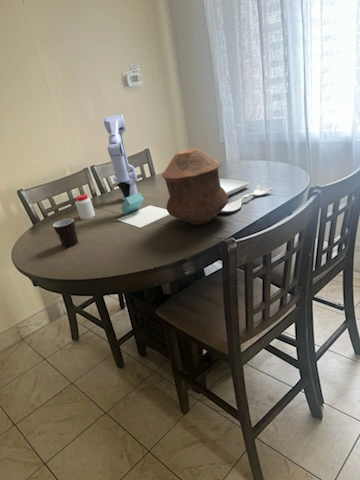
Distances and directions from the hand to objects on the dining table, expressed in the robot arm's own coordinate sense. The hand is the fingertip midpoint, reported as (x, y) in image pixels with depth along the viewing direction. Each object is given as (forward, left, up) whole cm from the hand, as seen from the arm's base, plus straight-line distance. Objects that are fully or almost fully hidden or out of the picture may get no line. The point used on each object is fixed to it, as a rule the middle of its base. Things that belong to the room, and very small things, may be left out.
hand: (127, 196), depth 169 cm
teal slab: (-1, 0, -6) cm, 6 cm away
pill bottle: (-18, -15, -8) cm, 25 cm away
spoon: (+45, +33, -8) cm, 57 cm away
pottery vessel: (+42, +8, -8) cm, 43 cm away
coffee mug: (+9, -37, -8) cm, 39 cm away
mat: (+13, 0, -8) cm, 15 cm away
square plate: (+21, +37, -9) cm, 43 cm away
